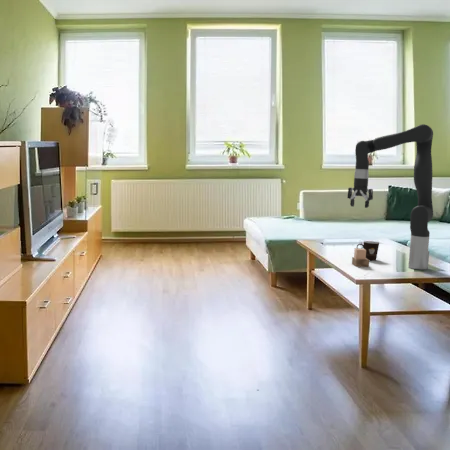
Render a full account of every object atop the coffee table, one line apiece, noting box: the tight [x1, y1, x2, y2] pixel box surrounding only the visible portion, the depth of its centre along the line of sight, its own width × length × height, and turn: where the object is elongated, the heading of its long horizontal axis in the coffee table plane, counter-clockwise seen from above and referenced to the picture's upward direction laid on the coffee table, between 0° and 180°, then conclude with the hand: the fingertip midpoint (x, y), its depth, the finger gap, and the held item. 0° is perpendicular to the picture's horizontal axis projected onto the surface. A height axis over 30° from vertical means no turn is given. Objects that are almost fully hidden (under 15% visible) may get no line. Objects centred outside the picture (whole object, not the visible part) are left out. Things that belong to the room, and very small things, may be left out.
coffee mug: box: [356, 240, 380, 262], centre depth 316 cm, size 12×9×10 cm
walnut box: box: [351, 256, 370, 268], centre depth 295 cm, size 7×7×4 cm
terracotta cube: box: [353, 247, 366, 260], centre depth 295 cm, size 5×5×5 cm
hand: (359, 207), depth 306 cm, fingers open, 8 cm apart
